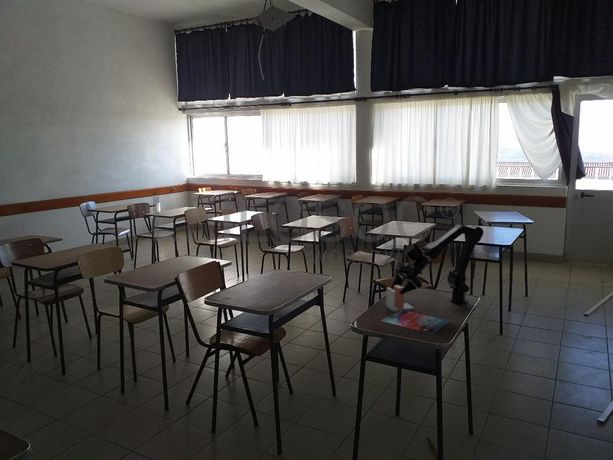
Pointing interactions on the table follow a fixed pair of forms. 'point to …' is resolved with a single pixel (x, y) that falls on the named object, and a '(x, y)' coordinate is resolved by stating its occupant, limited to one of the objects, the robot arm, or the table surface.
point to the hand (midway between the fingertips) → (396, 290)
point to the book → (398, 297)
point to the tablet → (416, 321)
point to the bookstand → (391, 302)
